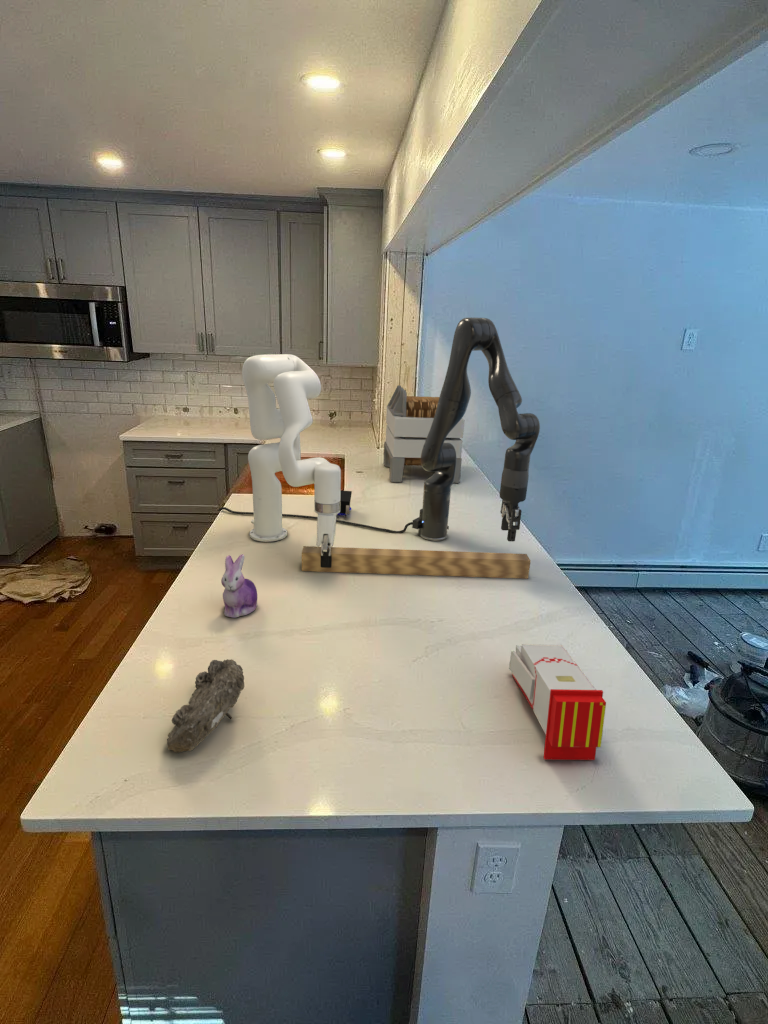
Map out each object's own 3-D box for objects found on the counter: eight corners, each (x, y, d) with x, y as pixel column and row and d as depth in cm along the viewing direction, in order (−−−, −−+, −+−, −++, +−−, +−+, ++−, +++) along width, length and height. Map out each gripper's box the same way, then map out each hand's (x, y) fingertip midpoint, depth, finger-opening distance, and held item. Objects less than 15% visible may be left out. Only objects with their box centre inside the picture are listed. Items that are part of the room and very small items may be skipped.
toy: (558, 627, 126) (616, 698, 97) (552, 682, 129) (607, 767, 99) (504, 626, 126) (545, 697, 96) (499, 681, 128) (538, 766, 99)
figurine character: (350, 524, 210) (352, 506, 224) (350, 505, 207) (352, 488, 220) (332, 523, 210) (335, 505, 224) (332, 505, 207) (335, 488, 220)
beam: (524, 571, 175) (526, 553, 173) (528, 578, 170) (530, 560, 168) (303, 564, 173) (303, 545, 171) (301, 571, 169) (301, 552, 167)
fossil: (192, 660, 117) (244, 628, 112) (224, 691, 120) (276, 661, 115) (142, 746, 98) (202, 712, 93) (182, 779, 101) (242, 748, 96)
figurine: (226, 622, 140) (223, 567, 134) (217, 603, 148) (214, 551, 143) (264, 615, 144) (262, 561, 139) (253, 597, 152) (251, 545, 147)
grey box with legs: (382, 463, 289) (386, 382, 275) (445, 464, 293) (451, 384, 279) (390, 482, 257) (394, 392, 243) (460, 483, 261) (468, 394, 247)
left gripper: (317, 496, 172) (317, 551, 179) (311, 515, 156) (311, 575, 163) (342, 497, 173) (341, 552, 179) (338, 516, 157) (337, 576, 163)
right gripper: (496, 475, 169) (490, 526, 175) (506, 490, 156) (500, 544, 161) (521, 476, 170) (514, 527, 175) (533, 491, 156) (526, 545, 162)
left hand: (326, 562), depth 171 cm, fingers closed on beam, 4 cm apart
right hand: (507, 535), depth 168 cm, fingers open, 8 cm apart
